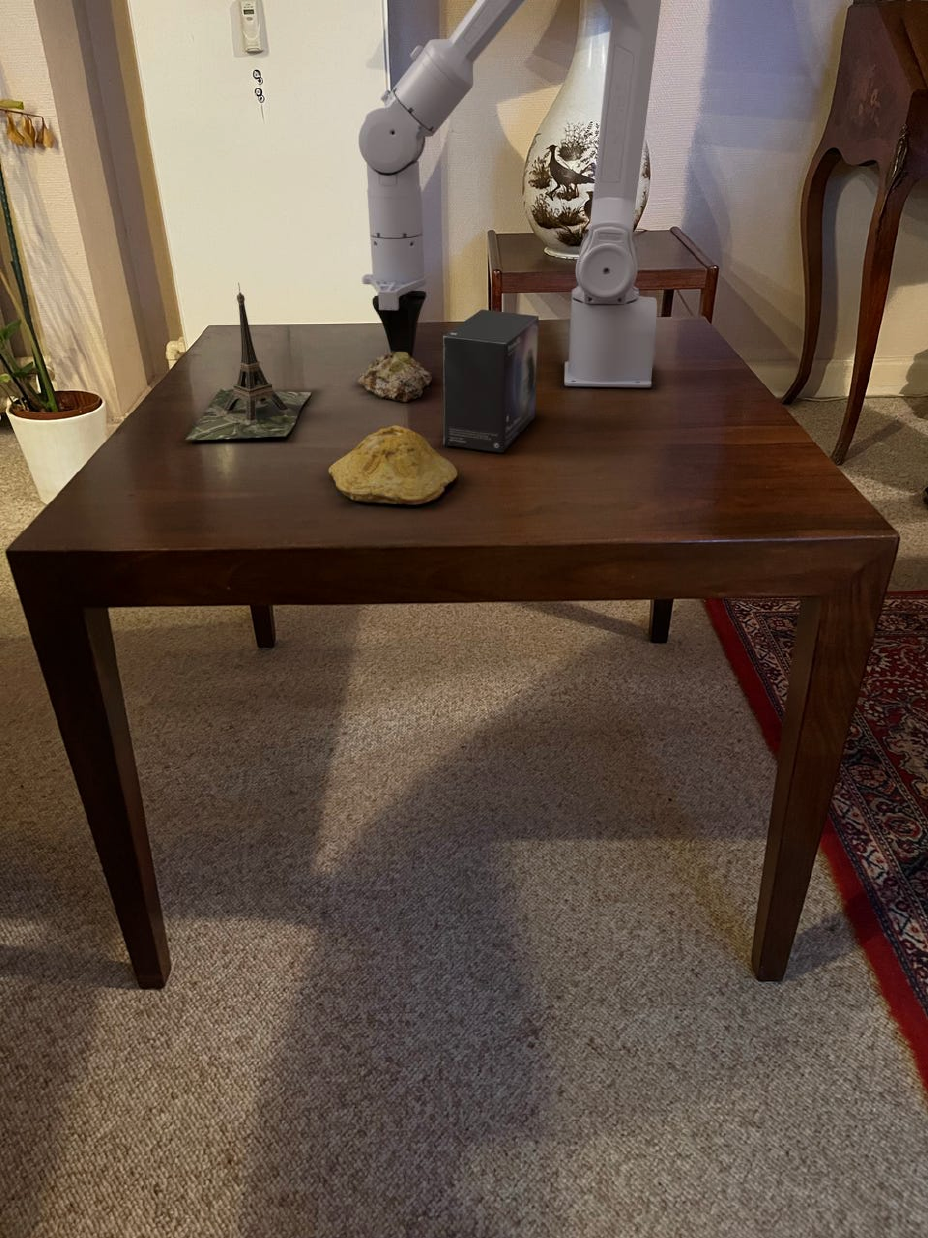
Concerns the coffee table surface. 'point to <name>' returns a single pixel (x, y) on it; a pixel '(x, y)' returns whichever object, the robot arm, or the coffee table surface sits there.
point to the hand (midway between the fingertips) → (402, 358)
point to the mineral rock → (396, 377)
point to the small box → (489, 379)
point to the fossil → (393, 469)
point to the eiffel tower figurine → (249, 401)
